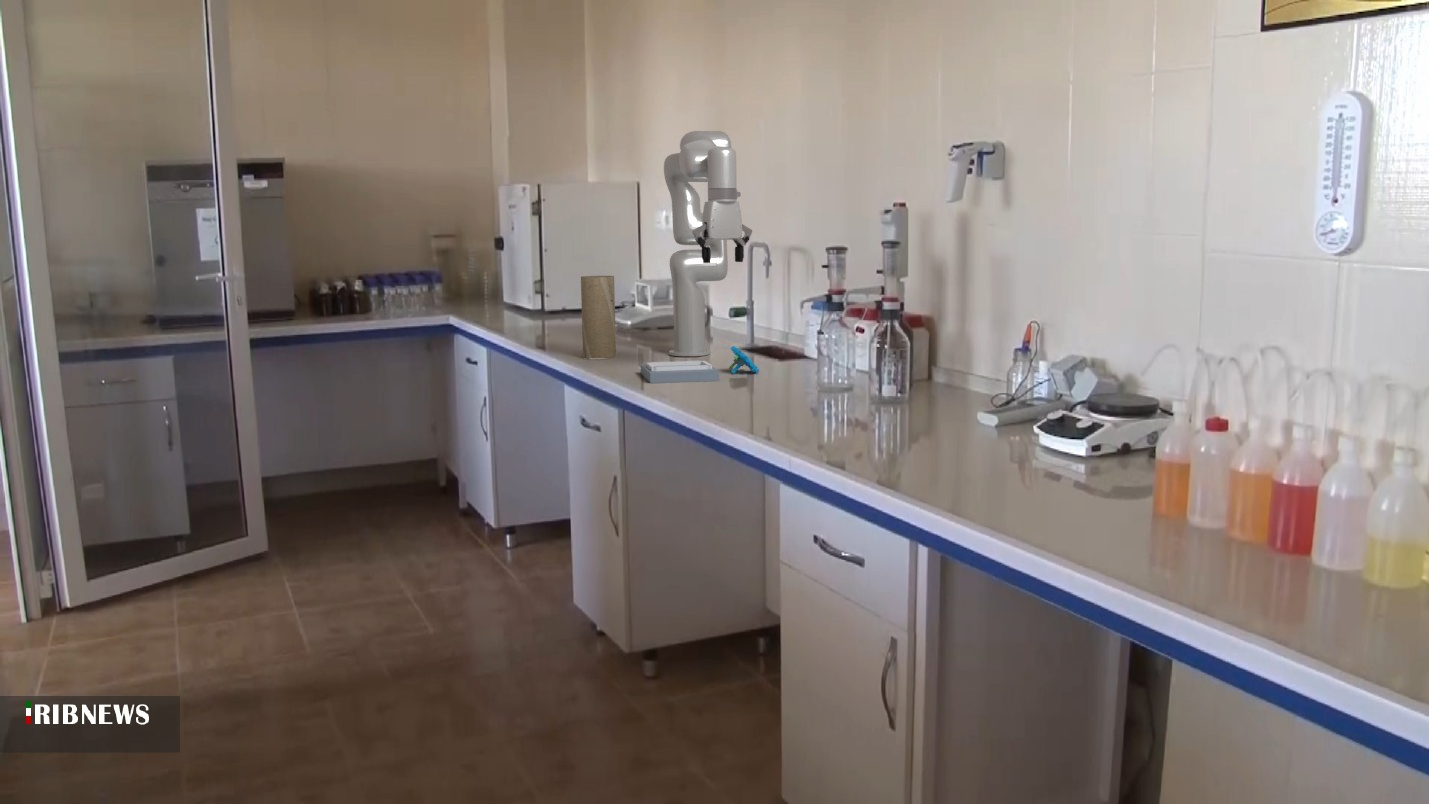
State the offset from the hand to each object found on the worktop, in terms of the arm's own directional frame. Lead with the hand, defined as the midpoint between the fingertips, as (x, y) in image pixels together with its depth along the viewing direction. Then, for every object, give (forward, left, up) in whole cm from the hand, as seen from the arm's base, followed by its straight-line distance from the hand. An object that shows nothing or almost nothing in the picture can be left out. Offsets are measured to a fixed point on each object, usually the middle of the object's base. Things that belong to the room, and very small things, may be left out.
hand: (723, 262), depth 302 cm
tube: (-49, -29, -31) cm, 65 cm away
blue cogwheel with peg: (-5, +9, -32) cm, 33 cm away
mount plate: (-2, -12, -30) cm, 33 cm away
